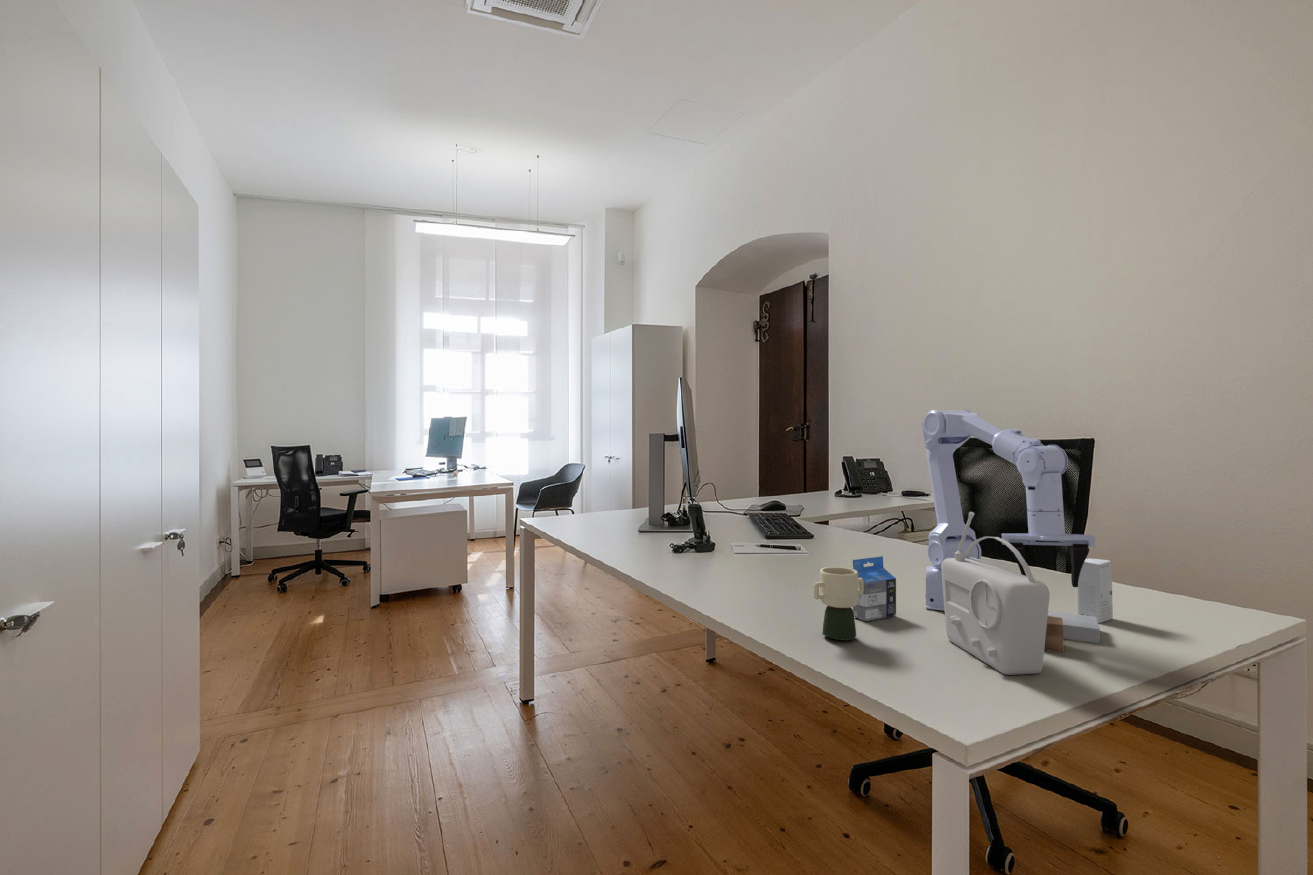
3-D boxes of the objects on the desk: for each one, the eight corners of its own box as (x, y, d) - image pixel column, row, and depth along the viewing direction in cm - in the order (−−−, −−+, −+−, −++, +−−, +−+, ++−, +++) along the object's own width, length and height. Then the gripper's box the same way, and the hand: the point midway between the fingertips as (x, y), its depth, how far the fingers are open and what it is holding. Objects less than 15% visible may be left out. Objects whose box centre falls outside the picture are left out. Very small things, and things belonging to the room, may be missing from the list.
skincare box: (1100, 623, 126) (1100, 564, 126) (1076, 618, 130) (1076, 560, 130) (1113, 618, 130) (1113, 560, 129) (1089, 613, 133) (1089, 557, 133)
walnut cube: (1030, 648, 113) (1030, 621, 113) (1030, 640, 117) (1030, 613, 117) (1063, 653, 110) (1063, 625, 110) (1062, 644, 115) (1062, 617, 115)
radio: (932, 636, 120) (931, 507, 119) (973, 635, 120) (972, 506, 120) (1003, 682, 98) (1003, 524, 98) (1053, 680, 98) (1053, 523, 98)
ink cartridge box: (865, 622, 129) (865, 563, 129) (851, 617, 132) (851, 559, 132) (897, 616, 133) (896, 559, 132) (883, 611, 136) (882, 555, 136)
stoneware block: (1042, 637, 120) (1042, 621, 120) (1042, 624, 127) (1042, 610, 127) (1099, 645, 115) (1099, 629, 115) (1095, 631, 123) (1095, 616, 123)
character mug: (852, 629, 125) (851, 564, 124) (875, 640, 118) (874, 572, 118) (804, 635, 121) (803, 568, 121) (825, 647, 114) (824, 577, 114)
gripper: (1000, 512, 115) (1005, 586, 114) (1096, 512, 108) (1101, 591, 107) (999, 509, 121) (1004, 580, 120) (1089, 509, 114) (1094, 584, 113)
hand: (1049, 585), depth 114 cm, fingers open, 7 cm apart
